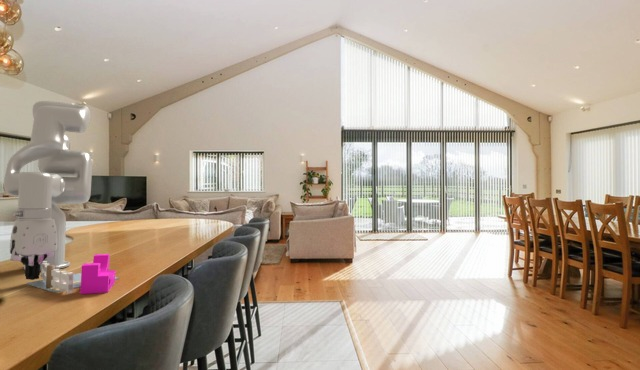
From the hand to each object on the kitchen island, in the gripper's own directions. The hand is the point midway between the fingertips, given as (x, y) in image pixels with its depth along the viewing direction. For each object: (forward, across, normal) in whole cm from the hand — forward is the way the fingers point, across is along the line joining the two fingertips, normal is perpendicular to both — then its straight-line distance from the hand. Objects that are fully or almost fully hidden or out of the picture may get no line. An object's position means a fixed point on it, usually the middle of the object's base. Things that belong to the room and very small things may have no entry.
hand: (32, 278), depth 101 cm
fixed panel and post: (+2, -2, -14) cm, 14 cm away
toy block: (+2, +7, -19) cm, 20 cm away
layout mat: (+2, +7, -7) cm, 10 cm away
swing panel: (+1, +2, -3) cm, 3 cm away
